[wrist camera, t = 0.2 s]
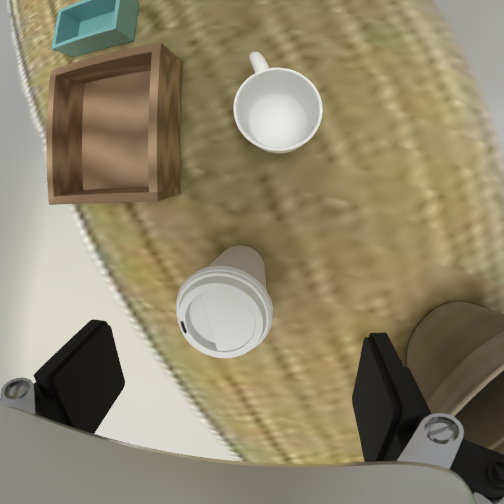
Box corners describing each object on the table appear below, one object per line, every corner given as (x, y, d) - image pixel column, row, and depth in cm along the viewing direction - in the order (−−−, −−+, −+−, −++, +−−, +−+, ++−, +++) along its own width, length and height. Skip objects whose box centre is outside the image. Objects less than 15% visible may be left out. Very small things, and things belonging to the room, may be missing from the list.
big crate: (83, 79, 37) (51, 70, 29) (182, 61, 35) (160, 42, 28) (82, 196, 42) (49, 204, 34) (180, 193, 41) (157, 201, 33)
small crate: (79, 20, 34) (59, 9, 28) (139, 3, 33) (122, -13, 27) (74, 57, 36) (51, 49, 30) (134, 41, 35) (115, 28, 29)
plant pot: (521, 279, 39) (600, 338, 18) (468, 395, 46) (512, 473, 25) (406, 256, 40) (490, 335, 19) (357, 395, 47) (380, 501, 26)
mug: (227, 77, 36) (209, 52, 26) (289, 57, 34) (290, 26, 24) (258, 162, 39) (250, 163, 29) (321, 142, 37) (334, 136, 27)
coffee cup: (211, 227, 41) (173, 263, 27) (283, 241, 41) (282, 286, 27) (201, 293, 44) (167, 351, 30) (268, 307, 44) (261, 373, 30)
